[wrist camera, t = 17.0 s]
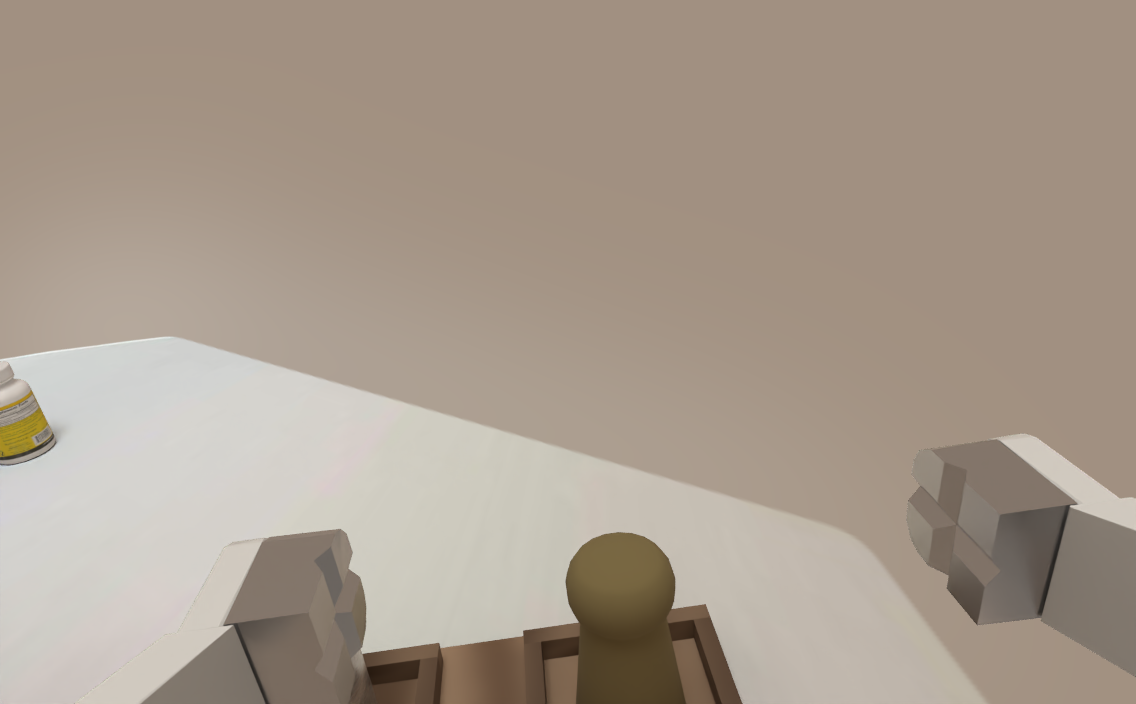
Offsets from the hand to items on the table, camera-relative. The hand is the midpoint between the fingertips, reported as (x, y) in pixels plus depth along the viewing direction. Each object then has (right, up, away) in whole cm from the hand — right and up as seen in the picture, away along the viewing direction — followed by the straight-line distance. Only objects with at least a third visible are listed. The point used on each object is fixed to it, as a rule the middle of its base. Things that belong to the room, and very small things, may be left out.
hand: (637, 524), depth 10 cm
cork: (+2, -17, +27) cm, 32 cm away
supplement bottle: (-58, -8, +63) cm, 86 cm away
